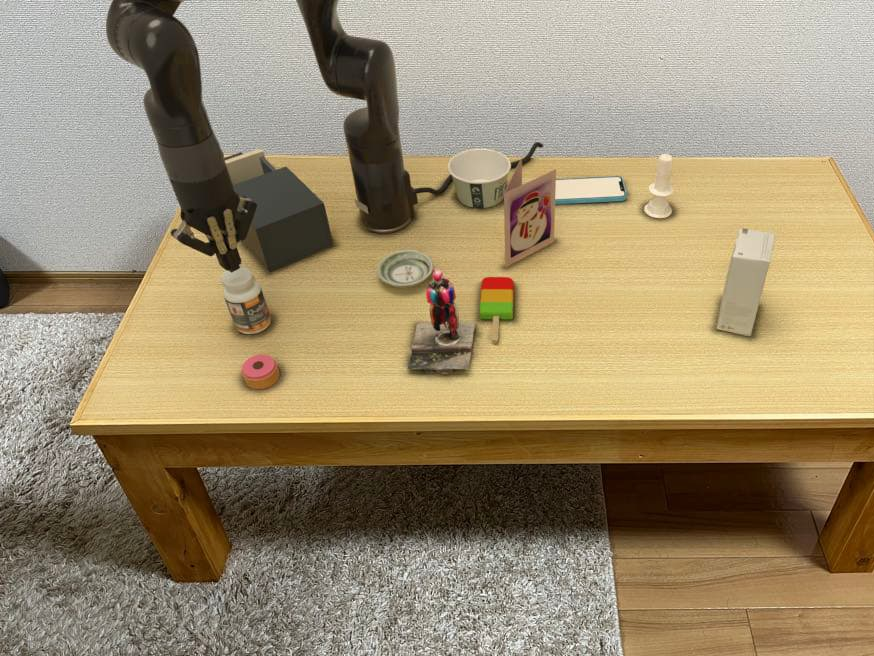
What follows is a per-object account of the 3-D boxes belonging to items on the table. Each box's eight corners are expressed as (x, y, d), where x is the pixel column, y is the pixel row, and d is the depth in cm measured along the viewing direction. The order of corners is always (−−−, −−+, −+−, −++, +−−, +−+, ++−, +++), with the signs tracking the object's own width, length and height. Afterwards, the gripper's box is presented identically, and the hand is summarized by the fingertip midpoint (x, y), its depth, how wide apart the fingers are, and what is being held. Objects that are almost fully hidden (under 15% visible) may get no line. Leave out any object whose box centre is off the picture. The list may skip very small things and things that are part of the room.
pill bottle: (262, 338, 123) (245, 290, 116) (229, 332, 124) (210, 285, 116) (277, 314, 127) (262, 267, 119) (245, 309, 127) (227, 262, 120)
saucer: (372, 268, 135) (370, 257, 133) (424, 255, 138) (423, 244, 136) (387, 301, 129) (385, 290, 127) (441, 287, 132) (440, 276, 130)
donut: (270, 360, 120) (266, 348, 118) (285, 379, 117) (281, 367, 115) (239, 374, 118) (234, 362, 116) (253, 394, 115) (249, 382, 113)
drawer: (204, 190, 149) (192, 156, 143) (259, 171, 154) (249, 137, 148) (244, 236, 139) (232, 201, 134) (301, 214, 144) (292, 179, 139)
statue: (418, 332, 126) (408, 252, 116) (475, 333, 126) (469, 252, 116) (408, 374, 118) (395, 292, 108) (468, 375, 118) (461, 293, 108)
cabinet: (234, 232, 141) (219, 189, 135) (297, 208, 147) (286, 166, 140) (269, 272, 134) (255, 229, 127) (334, 245, 139) (324, 202, 132)
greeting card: (508, 269, 135) (507, 196, 124) (482, 249, 139) (478, 176, 128) (556, 243, 140) (559, 171, 129) (530, 225, 144) (530, 153, 133)
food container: (457, 175, 155) (455, 145, 150) (515, 180, 154) (515, 150, 149) (444, 209, 147) (441, 179, 142) (505, 215, 146) (505, 184, 141)
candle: (676, 208, 148) (686, 151, 139) (664, 221, 145) (673, 165, 136) (651, 199, 150) (659, 143, 141) (639, 212, 147) (646, 156, 138)
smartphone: (547, 179, 153) (621, 175, 153) (547, 184, 154) (621, 180, 154) (550, 200, 148) (627, 197, 148) (550, 206, 149) (626, 202, 149)
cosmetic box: (750, 337, 124) (772, 264, 113) (713, 329, 126) (731, 256, 114) (756, 305, 130) (778, 232, 119) (721, 297, 131) (739, 224, 120)
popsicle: (513, 284, 133) (513, 275, 131) (512, 345, 123) (512, 336, 121) (482, 284, 133) (481, 275, 131) (477, 345, 123) (477, 336, 121)
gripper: (223, 136, 108) (255, 239, 121) (135, 174, 101) (179, 277, 114) (254, 156, 104) (284, 259, 117) (164, 196, 98) (207, 300, 111)
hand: (232, 268), depth 116 cm, fingers closed
